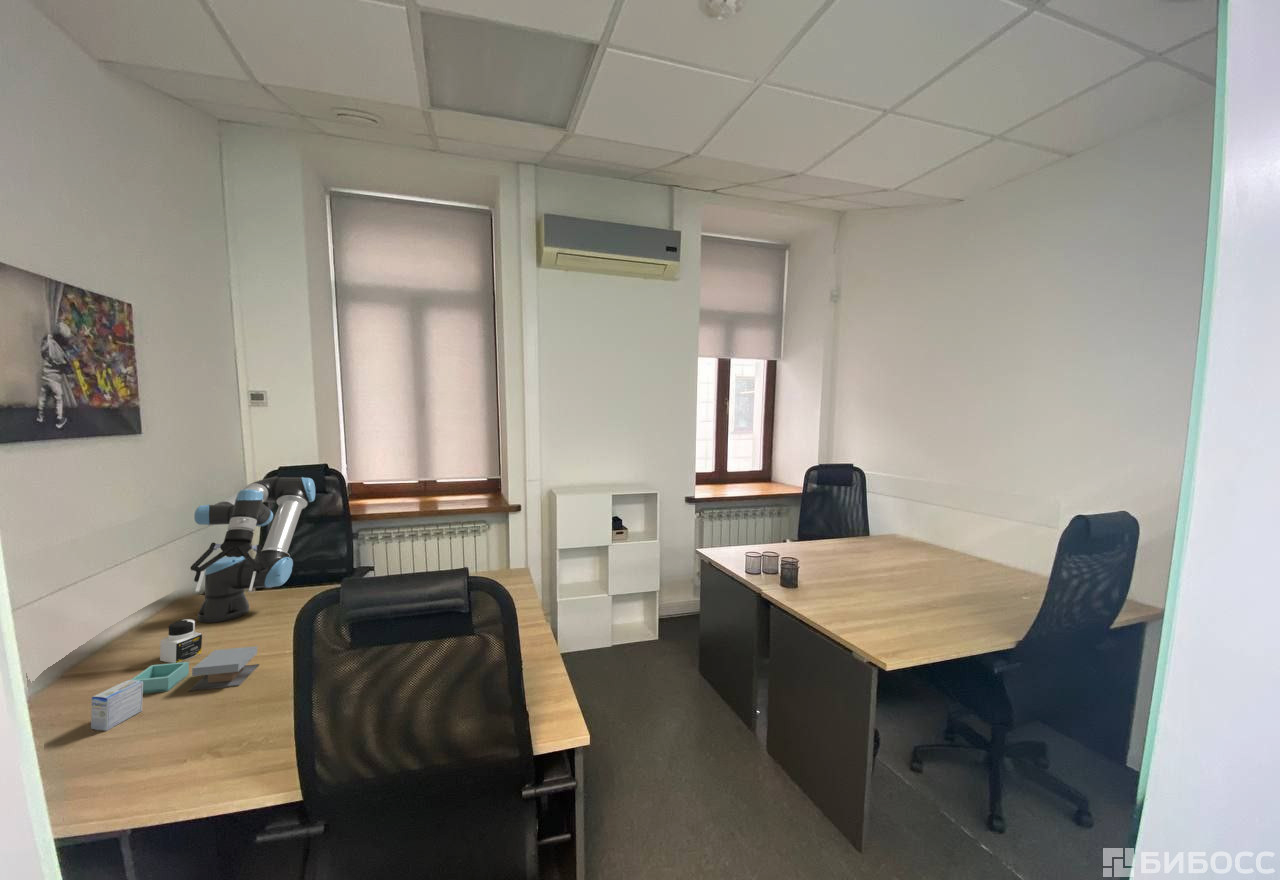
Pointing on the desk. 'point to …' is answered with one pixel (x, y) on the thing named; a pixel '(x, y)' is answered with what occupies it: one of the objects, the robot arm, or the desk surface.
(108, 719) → the medicine box
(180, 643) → the medicine bottle
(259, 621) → the desk surface
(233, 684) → the stand
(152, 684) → the dish
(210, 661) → the cover plate
